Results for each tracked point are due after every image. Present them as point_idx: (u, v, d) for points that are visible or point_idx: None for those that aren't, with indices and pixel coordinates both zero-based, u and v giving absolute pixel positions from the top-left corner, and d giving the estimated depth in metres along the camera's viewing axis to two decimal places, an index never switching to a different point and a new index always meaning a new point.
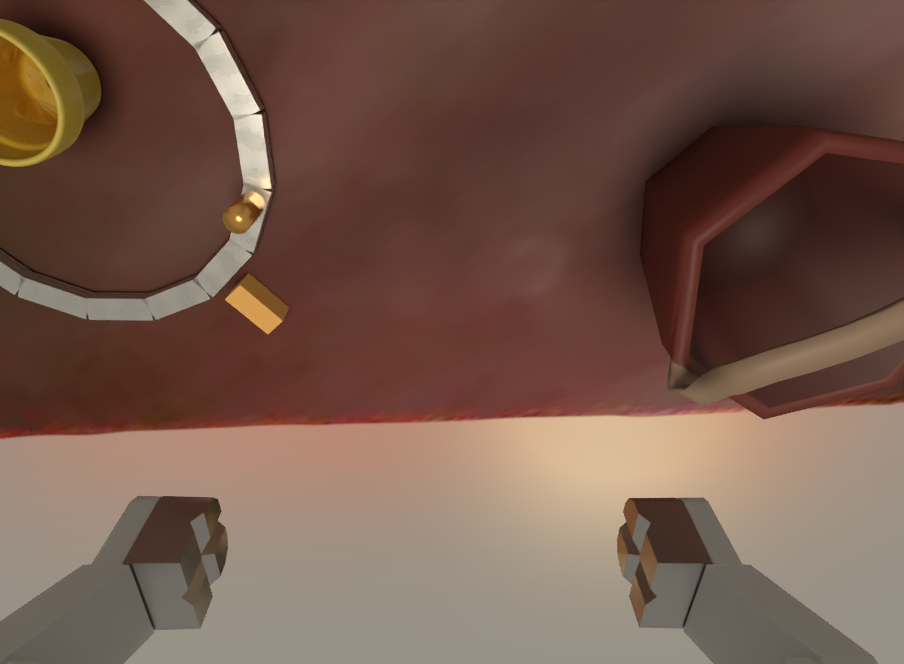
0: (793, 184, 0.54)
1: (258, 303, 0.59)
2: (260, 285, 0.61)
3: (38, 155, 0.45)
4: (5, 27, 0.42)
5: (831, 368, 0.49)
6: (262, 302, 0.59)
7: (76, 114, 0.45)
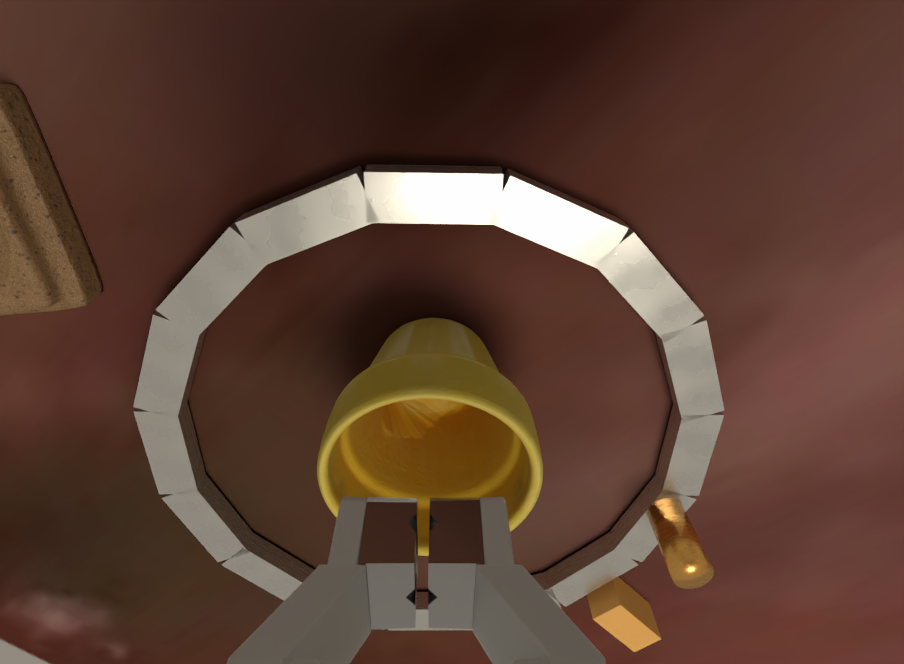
0: None
1: (637, 622, 0.43)
2: (623, 584, 0.45)
3: None
4: (483, 388, 0.25)
5: None
6: (641, 620, 0.43)
7: None
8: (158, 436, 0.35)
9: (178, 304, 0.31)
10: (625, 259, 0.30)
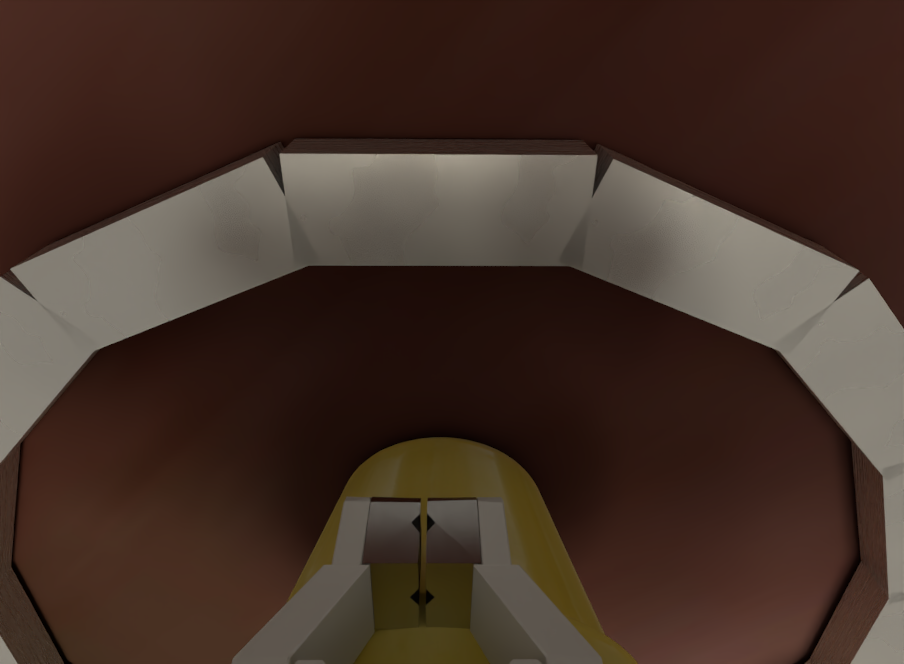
0: None
1: None
2: None
3: None
4: None
5: None
6: None
7: None
8: None
9: None
10: (840, 332, 0.14)
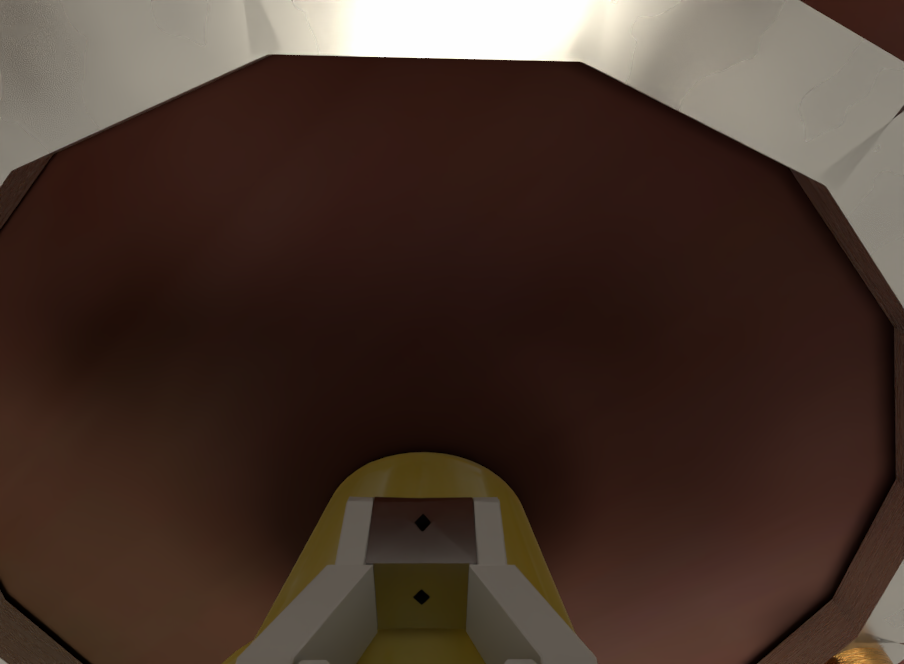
0: None
1: None
2: None
3: None
4: None
5: None
6: None
7: None
8: None
9: None
10: (898, 161, 0.12)
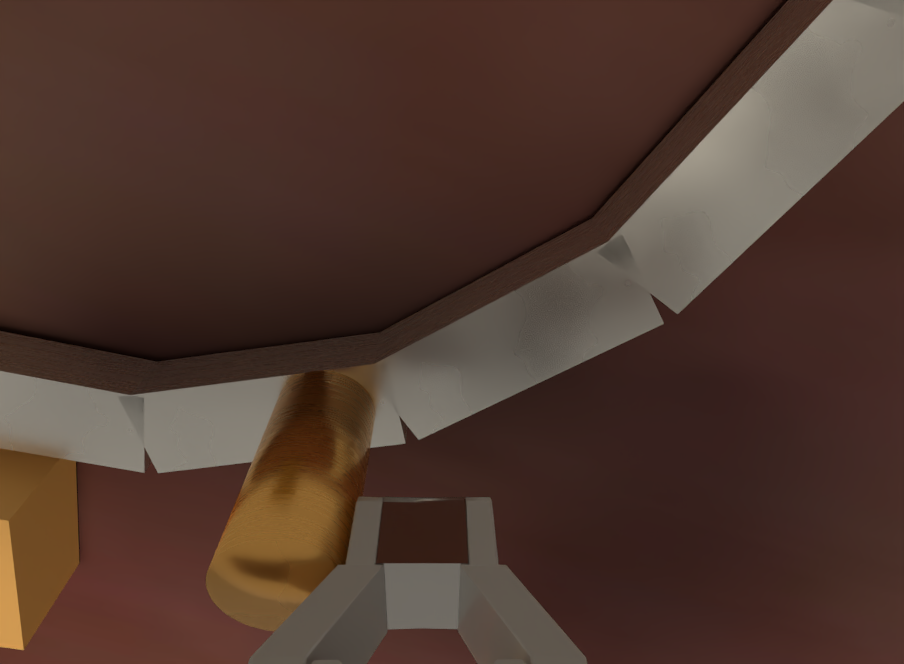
0: None
1: (7, 584, 0.16)
2: (69, 492, 0.17)
3: None
4: None
5: None
6: (21, 586, 0.16)
7: None
8: None
9: None
10: None
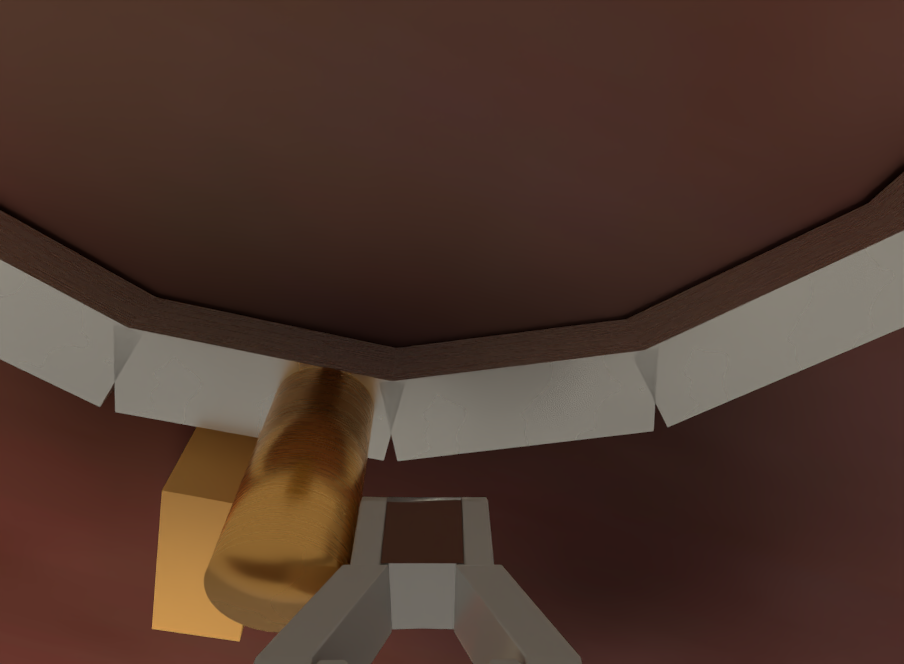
0: None
1: None
2: None
3: None
4: None
5: None
6: None
7: None
8: None
9: None
10: None
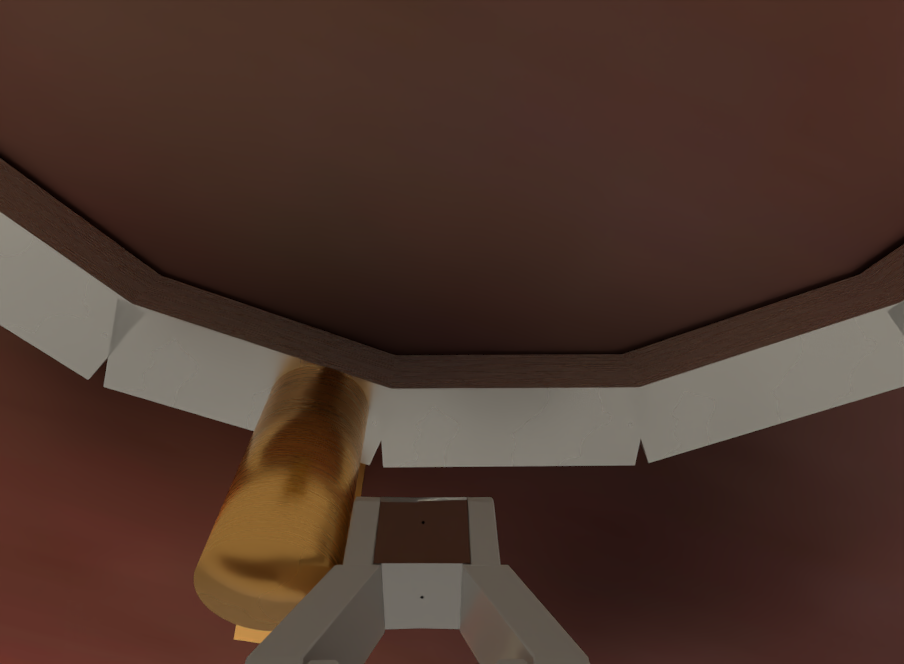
0: None
1: None
2: None
3: None
4: None
5: None
6: None
7: None
8: None
9: None
10: None
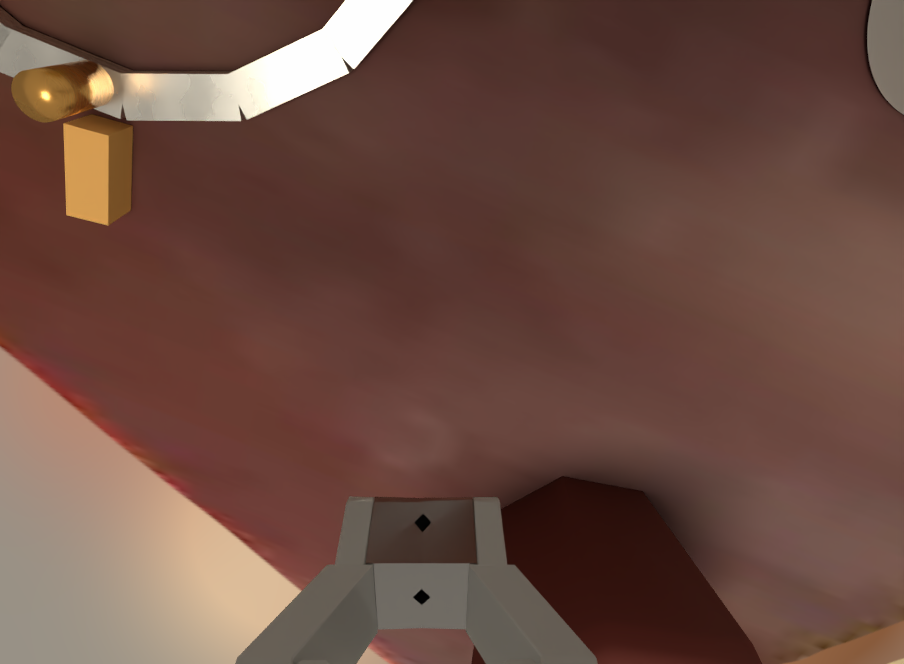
0: None
1: (104, 178, 0.34)
2: (129, 154, 0.36)
3: None
4: None
5: None
6: (110, 182, 0.35)
7: None
8: None
9: None
10: None
